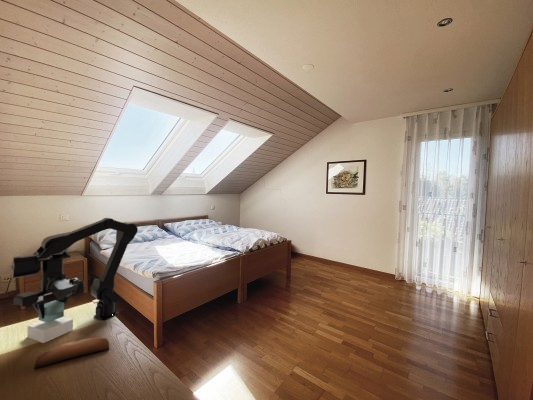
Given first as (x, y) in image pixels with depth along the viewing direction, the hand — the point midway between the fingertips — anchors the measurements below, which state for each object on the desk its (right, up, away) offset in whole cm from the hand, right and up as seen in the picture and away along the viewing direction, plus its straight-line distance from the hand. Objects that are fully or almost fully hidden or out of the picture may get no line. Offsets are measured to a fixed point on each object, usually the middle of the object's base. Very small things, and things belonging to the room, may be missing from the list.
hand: (51, 315), depth 87 cm
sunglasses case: (+16, -8, -10) cm, 21 cm away
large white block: (0, -7, 0) cm, 7 cm away
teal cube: (0, -1, 0) cm, 1 cm away
